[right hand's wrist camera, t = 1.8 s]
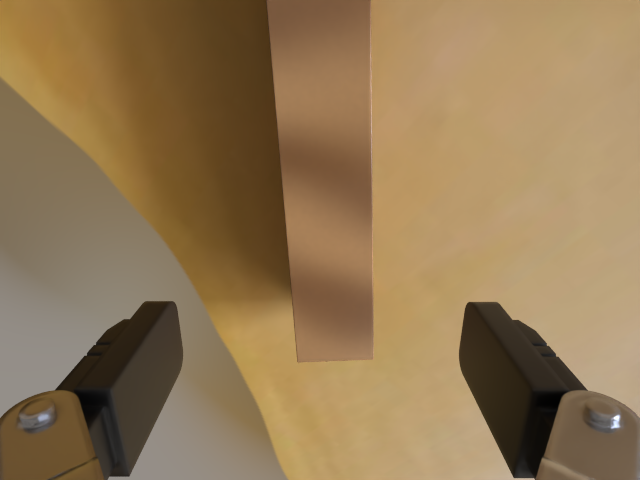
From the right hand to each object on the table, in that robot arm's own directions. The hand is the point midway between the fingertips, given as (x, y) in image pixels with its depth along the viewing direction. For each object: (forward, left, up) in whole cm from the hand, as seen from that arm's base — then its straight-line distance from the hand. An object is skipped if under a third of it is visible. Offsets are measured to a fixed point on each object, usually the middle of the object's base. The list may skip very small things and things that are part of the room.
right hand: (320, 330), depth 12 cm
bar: (+7, -24, -18) cm, 30 cm away
